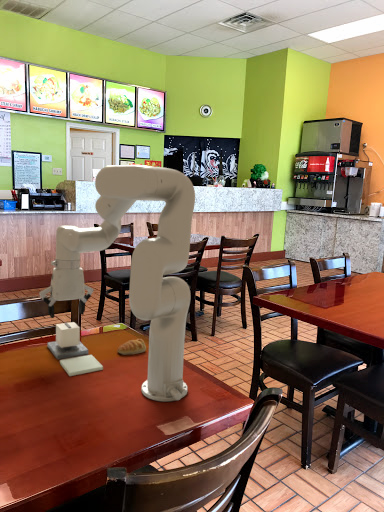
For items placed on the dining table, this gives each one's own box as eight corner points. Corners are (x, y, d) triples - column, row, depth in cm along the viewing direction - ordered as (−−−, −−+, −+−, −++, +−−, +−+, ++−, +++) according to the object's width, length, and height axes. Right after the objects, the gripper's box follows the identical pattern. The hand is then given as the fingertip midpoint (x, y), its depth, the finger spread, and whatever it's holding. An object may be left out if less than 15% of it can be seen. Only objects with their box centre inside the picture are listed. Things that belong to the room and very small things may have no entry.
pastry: (123, 358, 132) (124, 346, 132) (113, 351, 137) (113, 340, 137) (147, 352, 138) (148, 341, 138) (136, 346, 143) (137, 335, 143)
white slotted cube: (79, 344, 134) (79, 326, 133) (61, 347, 131) (61, 329, 130) (73, 339, 139) (74, 321, 138) (55, 341, 136) (56, 323, 135)
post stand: (88, 354, 133) (88, 332, 132) (57, 359, 128) (57, 336, 127) (76, 342, 143) (77, 321, 142) (47, 346, 138) (47, 325, 137)
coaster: (102, 369, 123) (102, 366, 122) (69, 376, 117) (69, 372, 117) (91, 357, 131) (91, 354, 131) (59, 363, 125) (59, 360, 125)
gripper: (42, 267, 123) (42, 321, 126) (97, 265, 133) (96, 315, 136) (37, 263, 129) (36, 314, 132) (90, 261, 139) (88, 309, 142)
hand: (66, 315), depth 134 cm, fingers open, 9 cm apart
